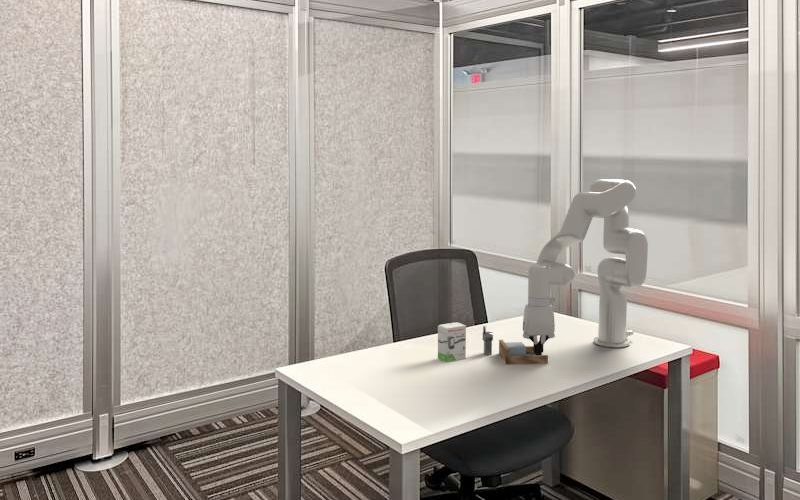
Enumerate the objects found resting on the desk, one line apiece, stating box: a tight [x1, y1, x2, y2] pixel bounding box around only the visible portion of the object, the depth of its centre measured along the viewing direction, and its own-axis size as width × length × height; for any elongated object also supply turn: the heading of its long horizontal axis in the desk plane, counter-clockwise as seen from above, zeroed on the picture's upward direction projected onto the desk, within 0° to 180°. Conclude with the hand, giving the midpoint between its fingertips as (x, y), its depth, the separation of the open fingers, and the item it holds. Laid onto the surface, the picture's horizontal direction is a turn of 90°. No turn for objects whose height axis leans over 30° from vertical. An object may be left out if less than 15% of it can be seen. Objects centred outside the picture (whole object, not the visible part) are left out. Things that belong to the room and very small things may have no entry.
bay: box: [498, 339, 549, 365], centre depth 226 cm, size 14×12×5 cm
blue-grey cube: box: [505, 341, 527, 356], centre depth 226 cm, size 6×6×5 cm
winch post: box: [482, 325, 494, 356], centre depth 232 cm, size 4×4×10 cm
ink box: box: [437, 321, 467, 363], centre depth 226 cm, size 9×5×12 cm, turn 120°
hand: (538, 354), depth 227 cm, fingers closed
